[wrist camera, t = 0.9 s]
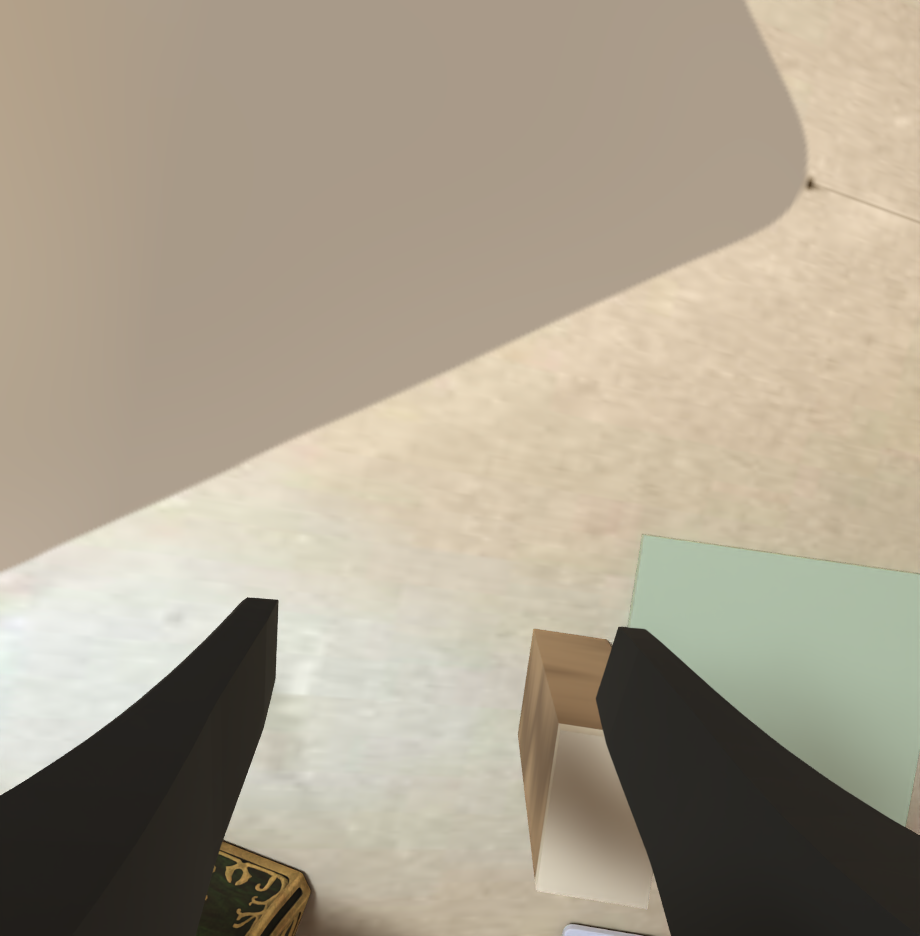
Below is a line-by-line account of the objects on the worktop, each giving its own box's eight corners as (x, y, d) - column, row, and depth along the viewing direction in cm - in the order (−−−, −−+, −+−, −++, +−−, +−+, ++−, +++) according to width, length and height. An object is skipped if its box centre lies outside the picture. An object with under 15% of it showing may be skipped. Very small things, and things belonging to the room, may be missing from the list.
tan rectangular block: (590, 745, 31) (647, 909, 20) (517, 734, 32) (536, 891, 21) (606, 639, 31) (673, 747, 20) (533, 628, 31) (560, 730, 20)
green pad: (885, 901, 31) (890, 907, 31) (592, 853, 32) (593, 858, 31) (945, 577, 30) (951, 579, 30) (642, 533, 31) (644, 535, 30)
